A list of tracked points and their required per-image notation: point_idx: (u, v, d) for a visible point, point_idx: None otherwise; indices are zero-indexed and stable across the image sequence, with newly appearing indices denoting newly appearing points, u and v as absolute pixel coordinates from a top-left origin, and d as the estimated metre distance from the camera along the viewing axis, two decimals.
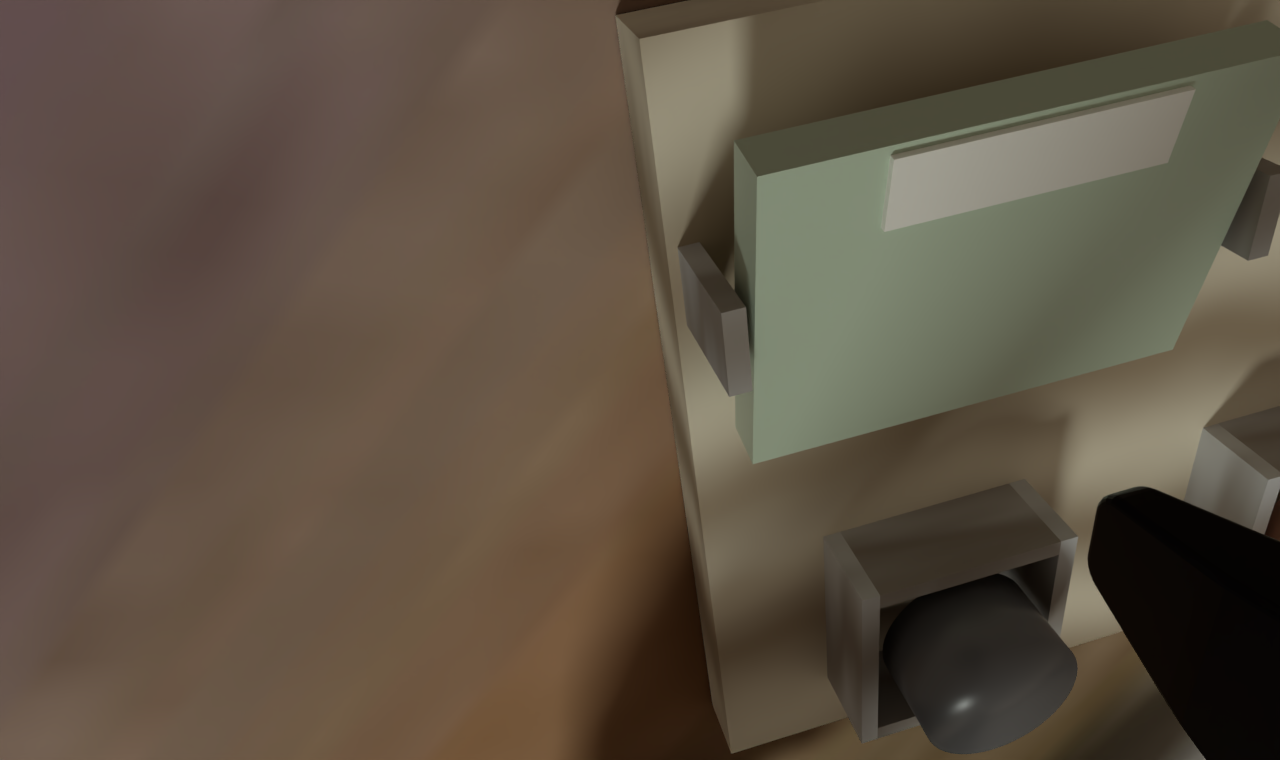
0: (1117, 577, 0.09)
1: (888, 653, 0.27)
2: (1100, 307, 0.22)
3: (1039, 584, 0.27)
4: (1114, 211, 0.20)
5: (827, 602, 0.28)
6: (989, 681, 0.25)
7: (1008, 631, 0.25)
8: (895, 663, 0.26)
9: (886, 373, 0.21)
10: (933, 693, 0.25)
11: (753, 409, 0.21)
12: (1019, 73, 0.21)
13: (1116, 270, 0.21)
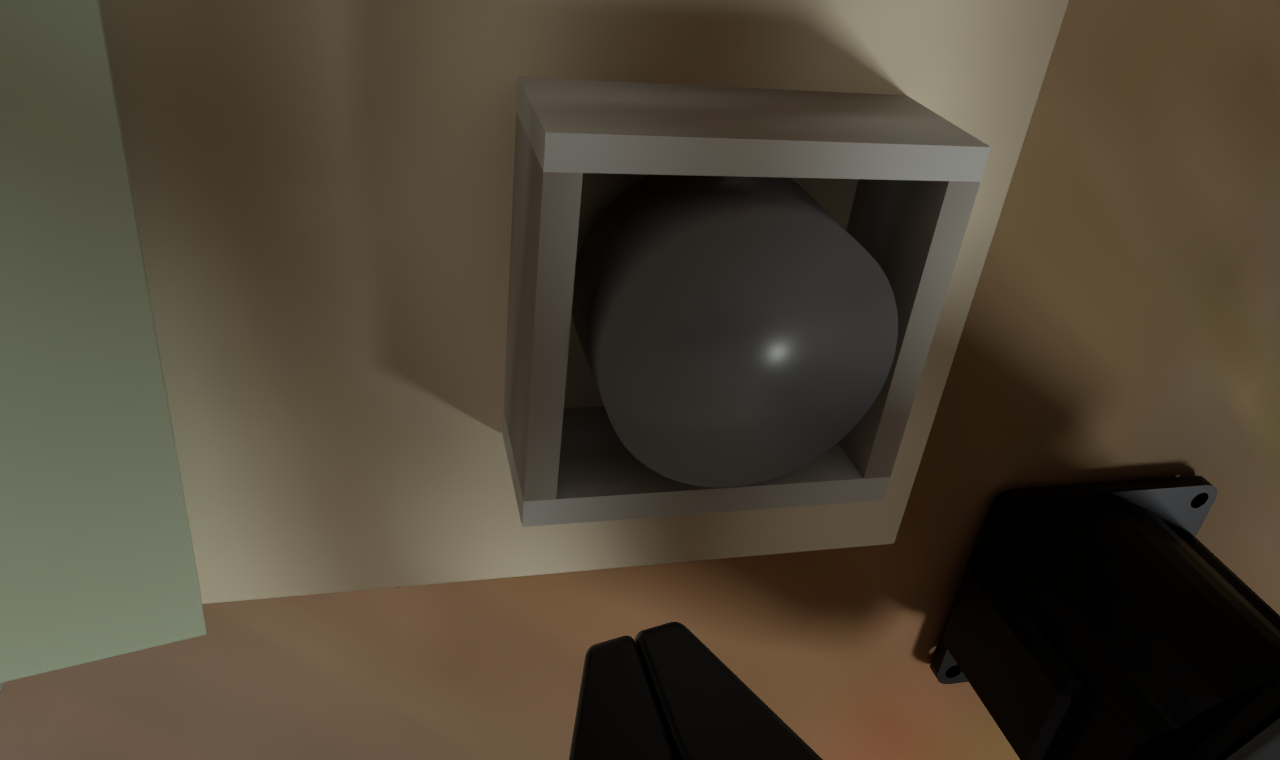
0: None
1: None
2: None
3: None
4: None
5: None
6: (685, 392, 0.14)
7: (599, 340, 0.13)
8: None
9: (19, 506, 0.13)
10: (668, 473, 0.15)
11: (70, 664, 0.15)
12: None
13: None
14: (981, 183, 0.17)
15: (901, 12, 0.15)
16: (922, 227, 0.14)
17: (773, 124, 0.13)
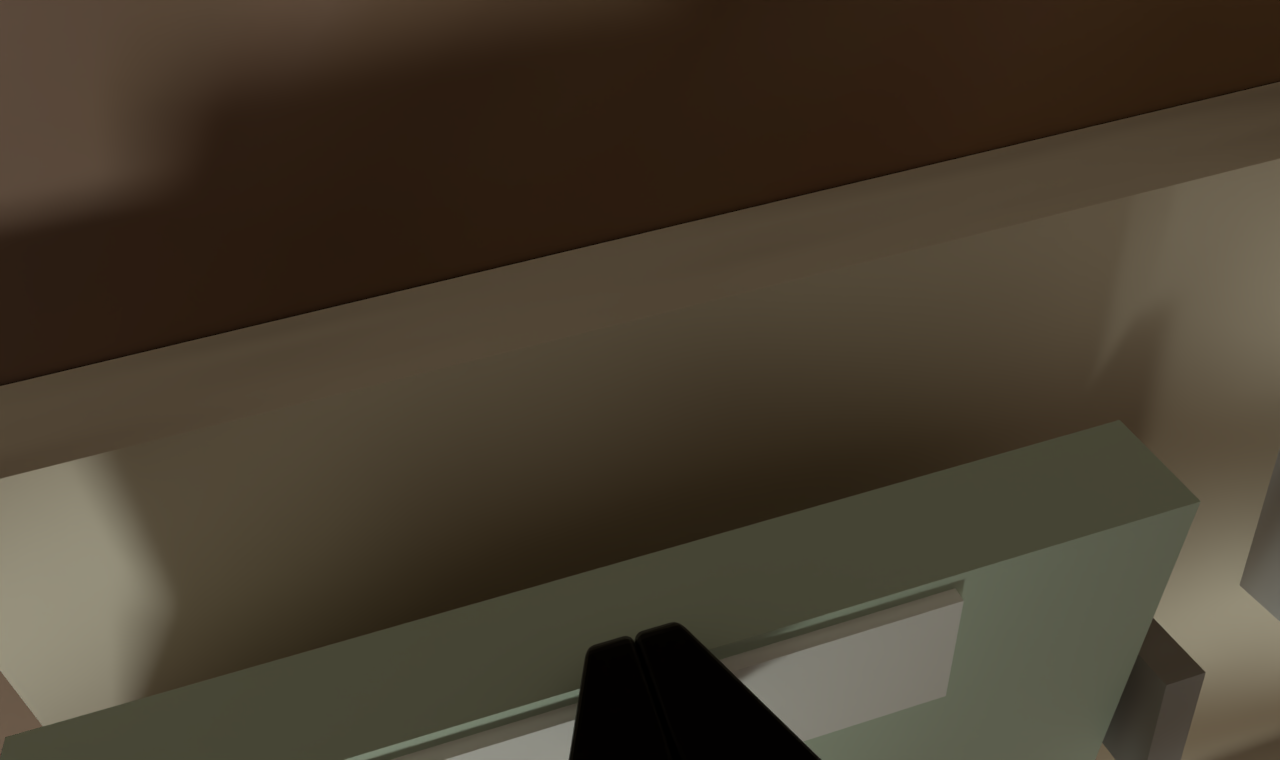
0: None
1: None
2: None
3: None
4: (867, 757, 0.10)
5: None
6: None
7: None
8: None
9: None
10: None
11: None
12: (718, 473, 0.12)
13: None
14: None
15: None
16: None
17: None
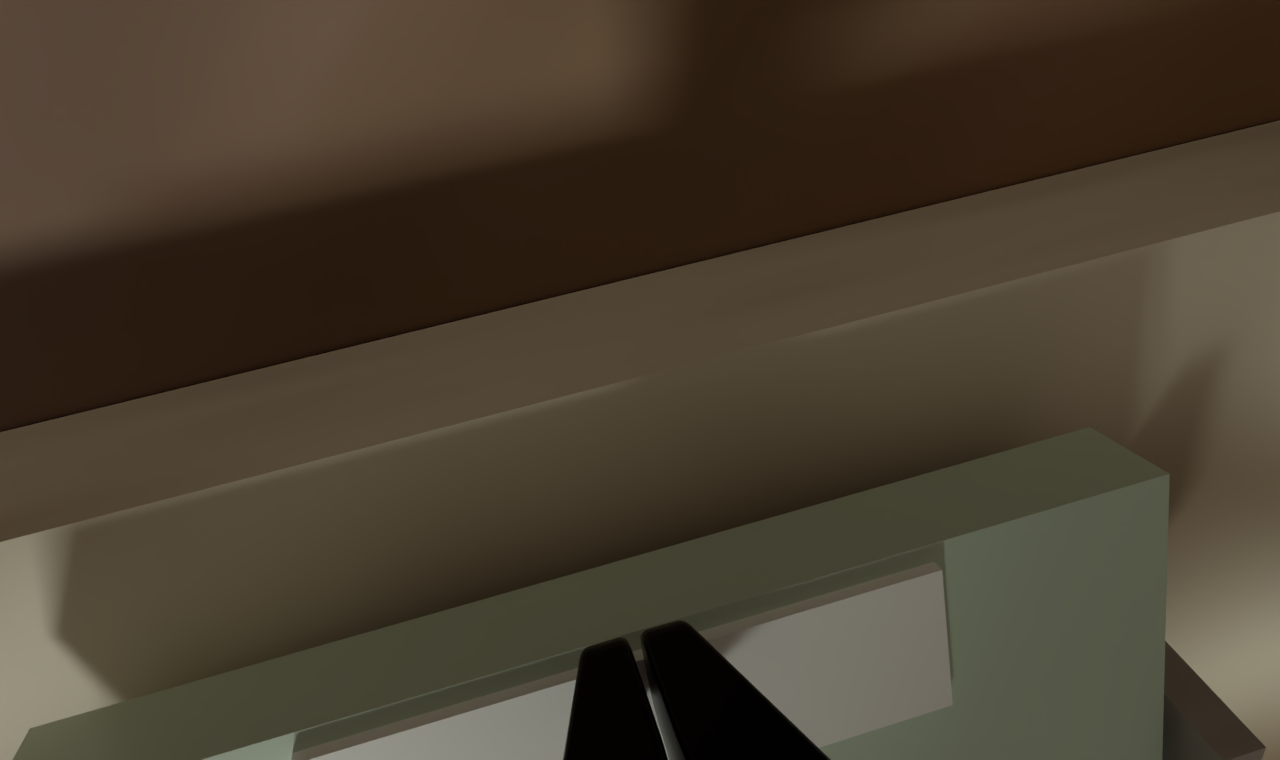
0: (660, 716, 0.08)
1: None
2: None
3: None
4: None
5: None
6: None
7: None
8: None
9: None
10: None
11: None
12: None
13: None
14: None
15: None
16: None
17: None
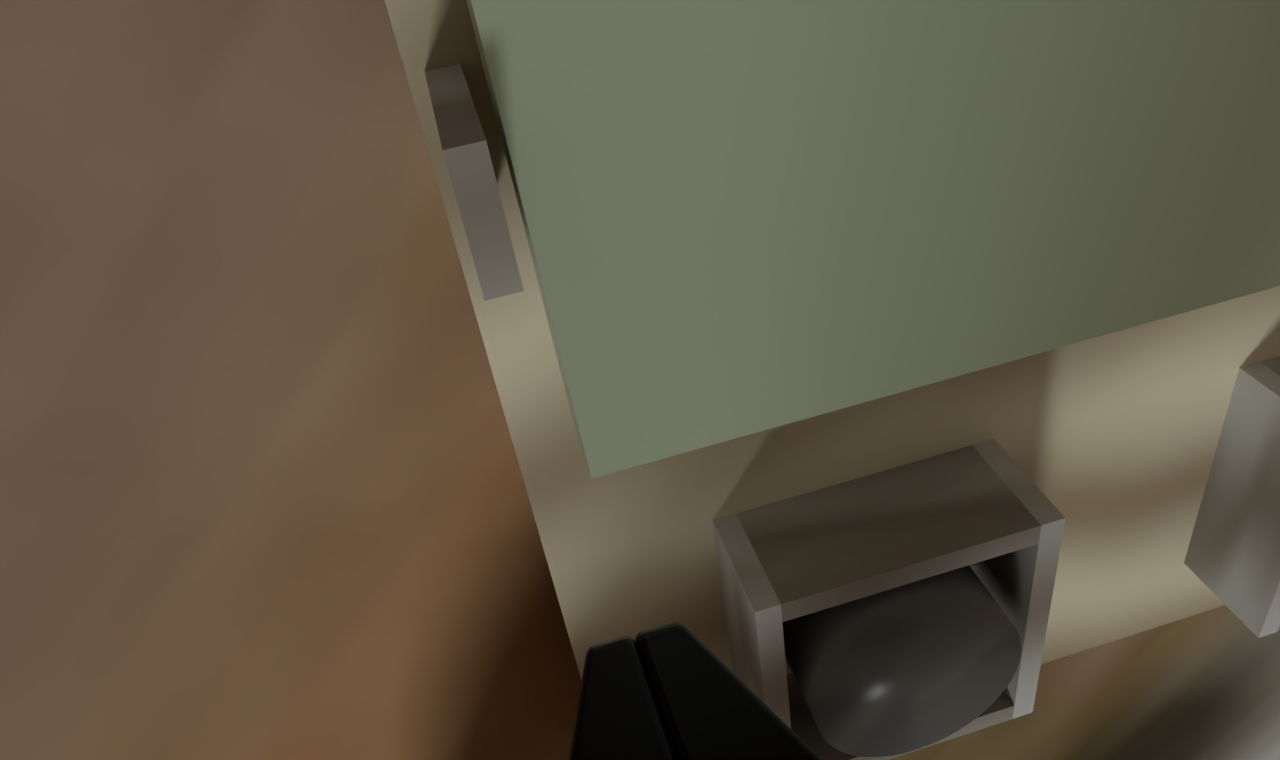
0: None
1: None
2: (1137, 170, 0.13)
3: (1013, 583, 0.20)
4: None
5: (726, 608, 0.21)
6: (901, 662, 0.19)
7: (924, 596, 0.18)
8: (784, 640, 0.20)
9: (784, 283, 0.13)
10: (825, 680, 0.19)
11: (558, 347, 0.12)
12: None
13: (1139, 87, 0.13)
14: None
15: None
16: None
17: None
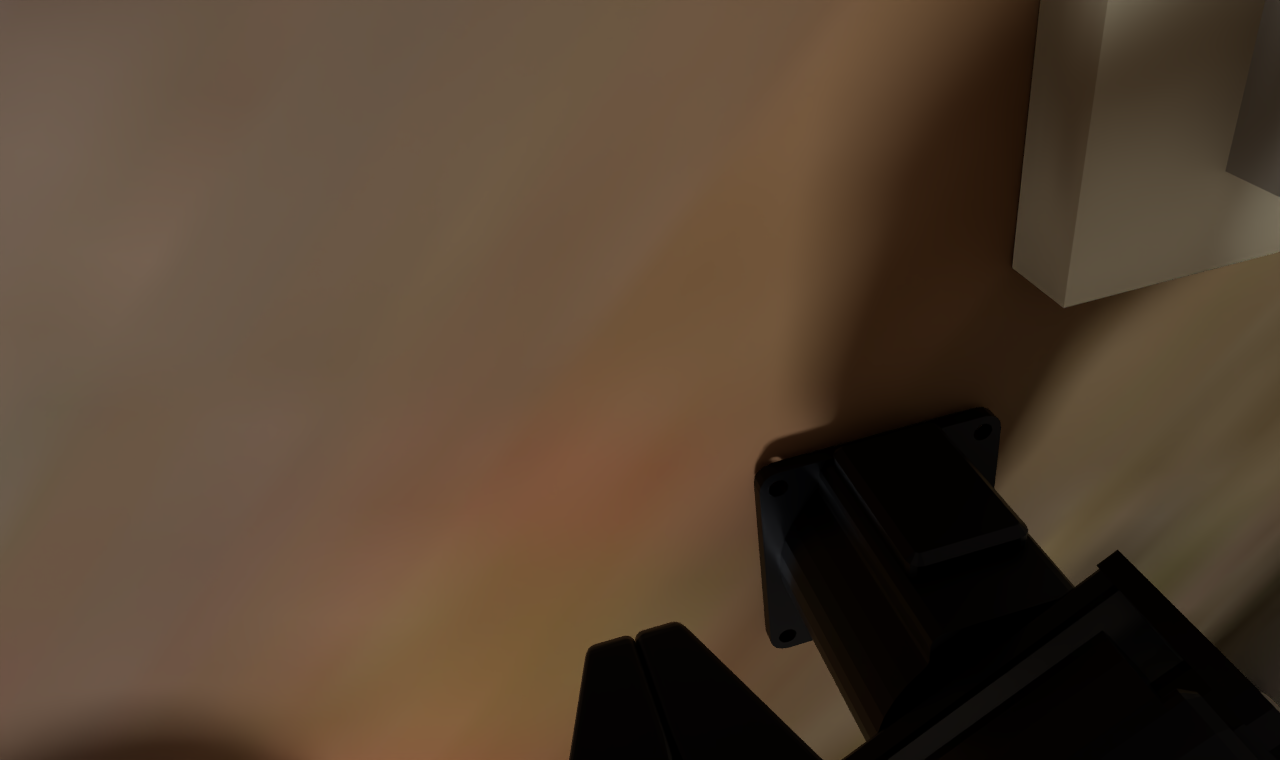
0: None
1: None
2: None
3: None
4: None
5: None
6: None
7: None
8: None
9: None
10: None
11: None
12: None
13: None
14: None
15: None
16: None
17: None
